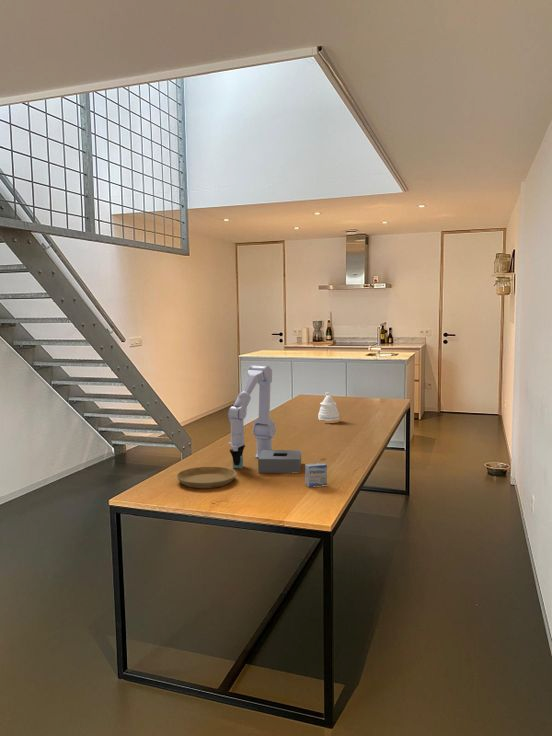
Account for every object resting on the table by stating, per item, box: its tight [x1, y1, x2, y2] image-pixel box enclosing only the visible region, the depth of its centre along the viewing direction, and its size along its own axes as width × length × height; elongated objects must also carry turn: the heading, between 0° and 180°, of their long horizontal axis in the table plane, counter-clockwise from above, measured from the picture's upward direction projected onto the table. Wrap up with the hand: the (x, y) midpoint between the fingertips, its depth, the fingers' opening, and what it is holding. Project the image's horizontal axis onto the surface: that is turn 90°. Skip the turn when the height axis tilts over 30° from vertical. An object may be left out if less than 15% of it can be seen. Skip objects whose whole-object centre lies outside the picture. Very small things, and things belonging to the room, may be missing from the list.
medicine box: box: [304, 462, 328, 488], centre depth 229 cm, size 8×4×9 cm, turn 105°
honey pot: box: [317, 392, 340, 421], centre depth 356 cm, size 13×13×18 cm
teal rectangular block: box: [232, 454, 244, 469], centre depth 257 cm, size 4×4×5 cm
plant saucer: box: [176, 466, 237, 489], centre depth 237 cm, size 24×24×3 cm
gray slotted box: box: [257, 449, 302, 474], centre depth 255 cm, size 16×18×6 cm
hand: (237, 463), depth 257 cm, fingers open, 6 cm apart
